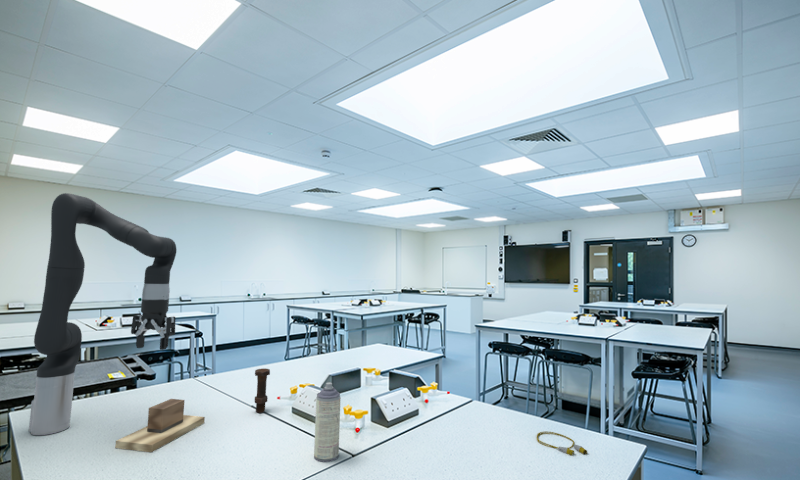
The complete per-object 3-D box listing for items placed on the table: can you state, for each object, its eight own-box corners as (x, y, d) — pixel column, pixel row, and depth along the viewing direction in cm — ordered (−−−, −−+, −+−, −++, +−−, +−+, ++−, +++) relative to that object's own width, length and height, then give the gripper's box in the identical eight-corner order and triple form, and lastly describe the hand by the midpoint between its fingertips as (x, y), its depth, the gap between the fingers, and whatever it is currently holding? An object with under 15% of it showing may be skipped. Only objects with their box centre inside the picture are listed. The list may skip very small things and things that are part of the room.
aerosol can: (339, 450, 112) (341, 379, 114) (337, 461, 106) (340, 386, 107) (315, 450, 112) (318, 380, 113) (312, 462, 105) (315, 386, 107)
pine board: (115, 448, 111) (115, 440, 111) (173, 419, 132) (173, 413, 133) (151, 452, 109) (151, 444, 109) (204, 423, 130) (204, 416, 130)
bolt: (257, 415, 138) (259, 372, 139) (249, 412, 141) (251, 370, 142) (271, 411, 142) (273, 369, 144) (263, 408, 145) (265, 367, 147)
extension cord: (546, 456, 112) (546, 449, 113) (531, 434, 128) (531, 428, 128) (589, 458, 112) (589, 451, 112) (568, 435, 127) (568, 429, 128)
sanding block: (147, 431, 118) (148, 407, 118) (169, 420, 126) (171, 398, 127) (161, 433, 117) (163, 409, 117) (183, 422, 126) (184, 399, 126)
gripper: (126, 297, 123) (122, 349, 122) (165, 299, 120) (161, 352, 119) (146, 296, 130) (142, 345, 129) (183, 297, 128) (179, 347, 126)
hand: (151, 348), depth 124 cm, fingers open, 8 cm apart
